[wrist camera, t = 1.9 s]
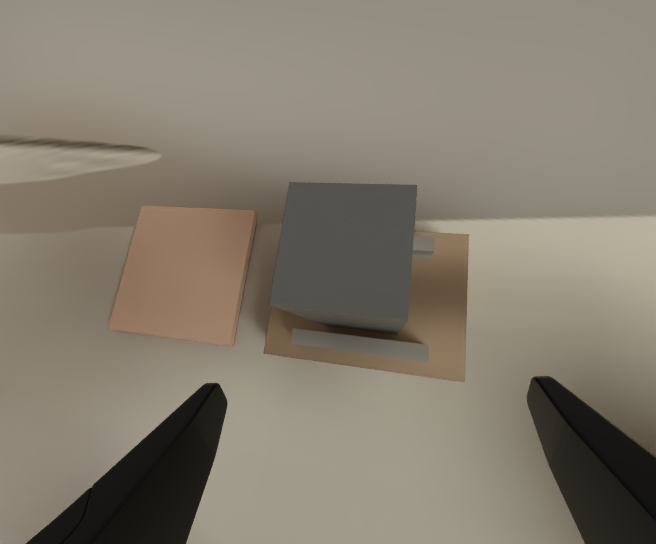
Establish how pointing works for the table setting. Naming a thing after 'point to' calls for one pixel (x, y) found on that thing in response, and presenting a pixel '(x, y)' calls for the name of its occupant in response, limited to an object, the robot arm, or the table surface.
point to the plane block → (415, 336)
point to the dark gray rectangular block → (347, 255)
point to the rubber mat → (185, 273)
